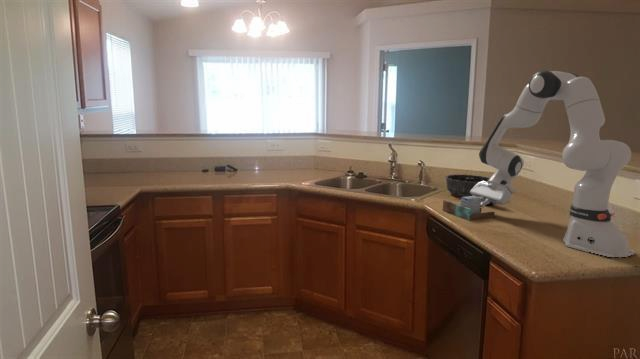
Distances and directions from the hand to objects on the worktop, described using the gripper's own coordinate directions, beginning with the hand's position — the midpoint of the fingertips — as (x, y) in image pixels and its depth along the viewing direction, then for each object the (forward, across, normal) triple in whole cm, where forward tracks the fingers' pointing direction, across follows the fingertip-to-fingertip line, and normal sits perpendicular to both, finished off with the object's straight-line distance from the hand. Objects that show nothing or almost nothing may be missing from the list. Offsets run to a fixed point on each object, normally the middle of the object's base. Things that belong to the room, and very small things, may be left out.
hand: (479, 206), depth 198 cm
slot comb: (+5, -4, +1) cm, 6 cm away
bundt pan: (-16, -37, +23) cm, 46 cm away
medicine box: (+6, -1, 0) cm, 6 cm away
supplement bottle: (-10, -15, +17) cm, 25 cm away
